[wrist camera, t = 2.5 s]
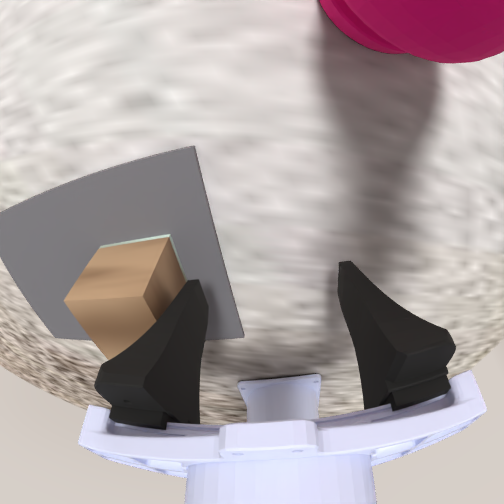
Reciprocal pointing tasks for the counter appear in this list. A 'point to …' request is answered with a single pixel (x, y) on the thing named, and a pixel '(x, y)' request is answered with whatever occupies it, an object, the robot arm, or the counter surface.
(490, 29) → the pepper mill
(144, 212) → the mat
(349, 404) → the counter surface
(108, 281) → the cube
